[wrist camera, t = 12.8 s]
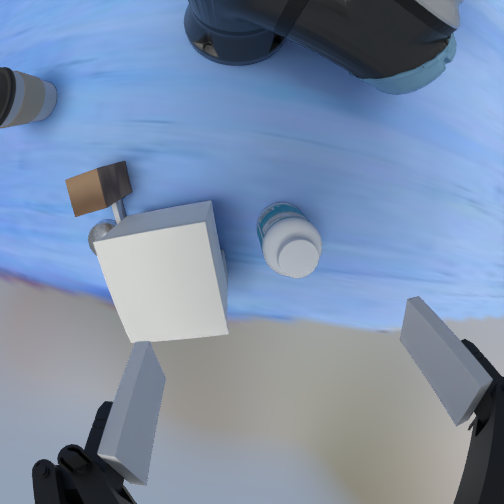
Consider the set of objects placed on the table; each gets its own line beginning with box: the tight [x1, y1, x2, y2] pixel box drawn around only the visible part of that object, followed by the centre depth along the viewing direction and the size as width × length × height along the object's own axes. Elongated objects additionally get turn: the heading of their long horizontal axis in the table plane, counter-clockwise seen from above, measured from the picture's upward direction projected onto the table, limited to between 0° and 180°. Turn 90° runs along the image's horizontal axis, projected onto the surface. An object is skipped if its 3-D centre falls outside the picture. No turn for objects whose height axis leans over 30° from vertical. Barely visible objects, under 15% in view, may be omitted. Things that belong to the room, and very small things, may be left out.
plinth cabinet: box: [93, 200, 229, 343], centre depth 37 cm, size 13×12×16 cm
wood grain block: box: [65, 161, 132, 224], centre depth 37 cm, size 14×5×10 cm, turn 10°
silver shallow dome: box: [88, 219, 117, 256], centre depth 42 cm, size 6×6×2 cm
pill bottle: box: [257, 203, 322, 278], centre depth 38 cm, size 8×7×14 cm
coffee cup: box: [0, 67, 57, 128], centre depth 26 cm, size 9×9×15 cm
